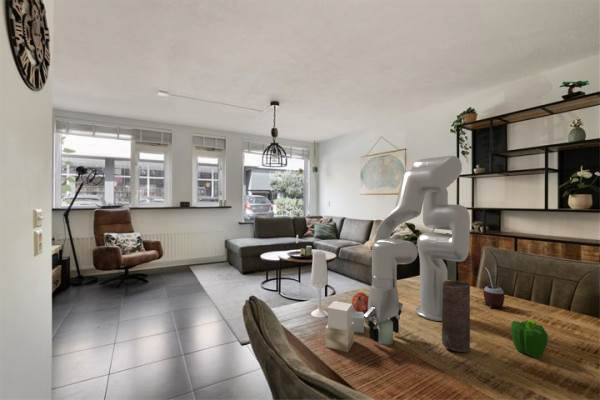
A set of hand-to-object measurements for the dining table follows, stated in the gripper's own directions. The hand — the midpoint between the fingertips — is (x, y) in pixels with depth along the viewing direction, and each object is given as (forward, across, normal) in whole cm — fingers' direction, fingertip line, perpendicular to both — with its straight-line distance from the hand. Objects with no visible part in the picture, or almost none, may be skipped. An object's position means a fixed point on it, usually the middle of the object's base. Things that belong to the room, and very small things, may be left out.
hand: (384, 335), depth 88 cm
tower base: (+2, +13, -6) cm, 15 cm away
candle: (+2, -14, +15) cm, 20 cm away
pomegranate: (+2, -11, -20) cm, 23 cm away
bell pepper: (+2, -29, +28) cm, 41 cm away
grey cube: (+2, +2, -11) cm, 11 cm away
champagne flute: (+2, +4, -28) cm, 28 cm away
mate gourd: (+2, -59, +8) cm, 59 cm away
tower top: (-4, +13, -6) cm, 15 cm away
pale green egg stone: (+2, 0, 0) cm, 2 cm away
